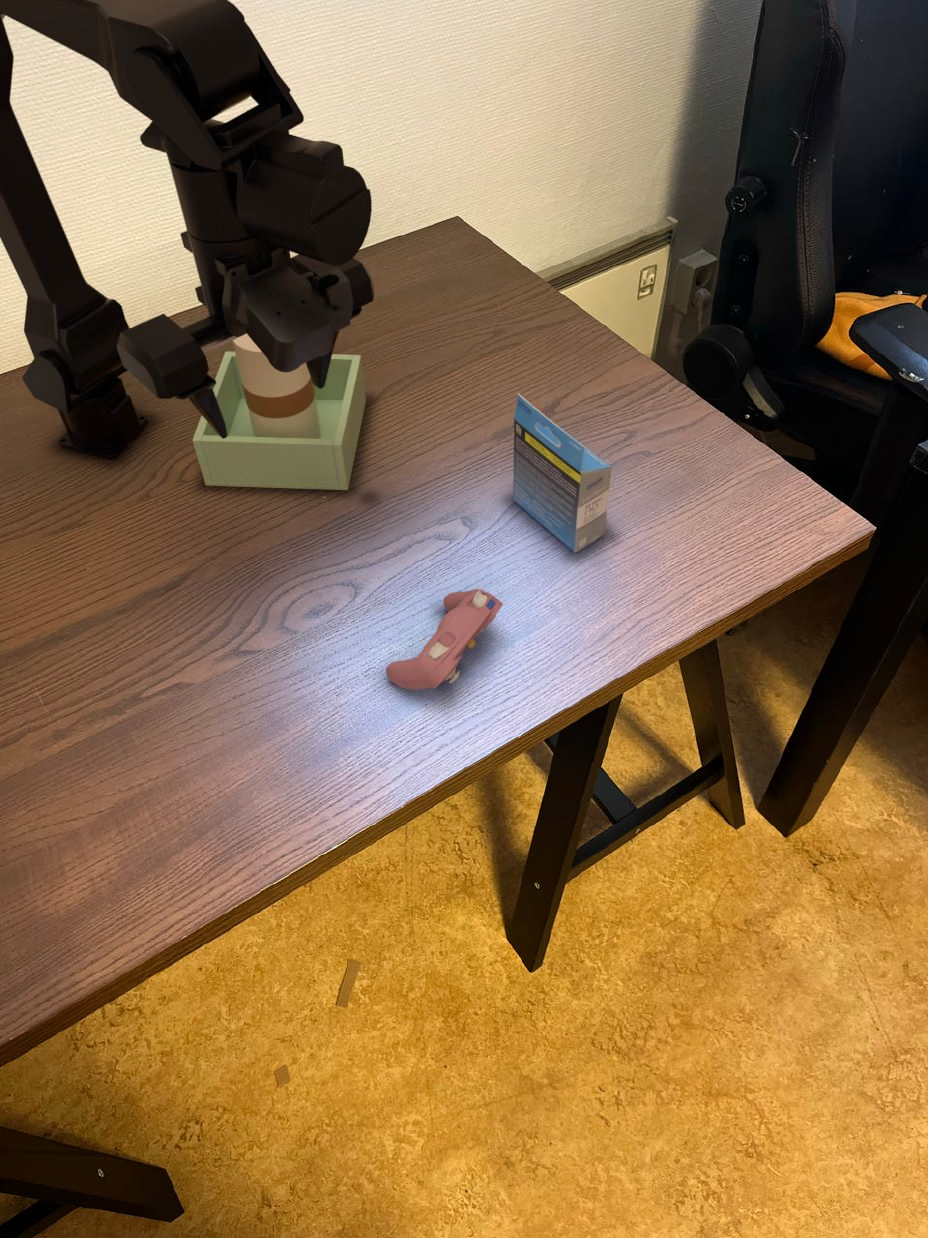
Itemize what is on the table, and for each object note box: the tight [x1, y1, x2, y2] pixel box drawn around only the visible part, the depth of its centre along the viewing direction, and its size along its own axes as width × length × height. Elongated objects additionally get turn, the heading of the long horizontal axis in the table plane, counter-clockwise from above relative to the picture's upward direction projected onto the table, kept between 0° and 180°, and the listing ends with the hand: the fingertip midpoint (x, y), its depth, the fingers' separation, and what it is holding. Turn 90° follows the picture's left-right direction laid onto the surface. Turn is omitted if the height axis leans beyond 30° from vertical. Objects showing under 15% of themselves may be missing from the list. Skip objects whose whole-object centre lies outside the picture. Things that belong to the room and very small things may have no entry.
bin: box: [192, 351, 367, 491], centre depth 91 cm, size 14×14×6 cm
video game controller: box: [386, 588, 504, 691], centre depth 74 cm, size 10×5×7 cm, turn 148°
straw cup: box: [231, 334, 321, 439], centre depth 86 cm, size 6×6×16 cm
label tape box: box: [512, 392, 612, 554], centre depth 81 cm, size 9×4×12 cm, turn 37°
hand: (271, 410), depth 75 cm, fingers open, 9 cm apart
